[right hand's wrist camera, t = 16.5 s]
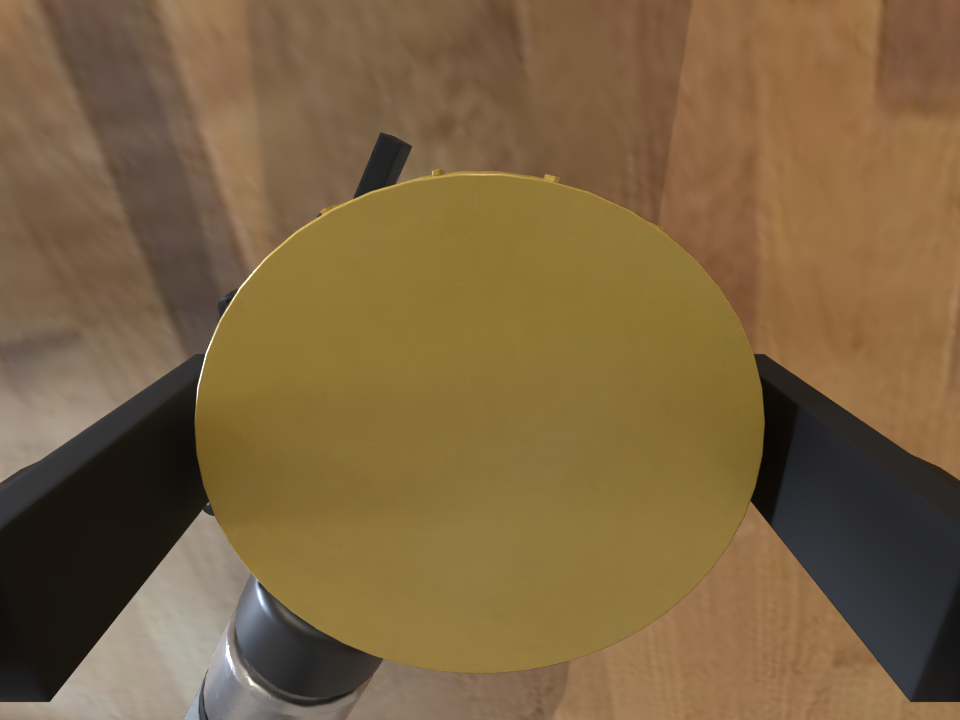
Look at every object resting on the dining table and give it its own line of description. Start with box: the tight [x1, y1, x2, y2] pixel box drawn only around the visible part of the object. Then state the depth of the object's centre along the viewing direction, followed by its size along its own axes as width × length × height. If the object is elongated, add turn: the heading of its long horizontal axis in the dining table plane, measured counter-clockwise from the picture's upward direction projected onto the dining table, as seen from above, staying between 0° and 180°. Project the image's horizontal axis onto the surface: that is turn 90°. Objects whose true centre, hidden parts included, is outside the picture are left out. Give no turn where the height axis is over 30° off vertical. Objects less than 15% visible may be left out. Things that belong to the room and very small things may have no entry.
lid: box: [195, 169, 765, 673], centre depth 11 cm, size 11×11×2 cm
